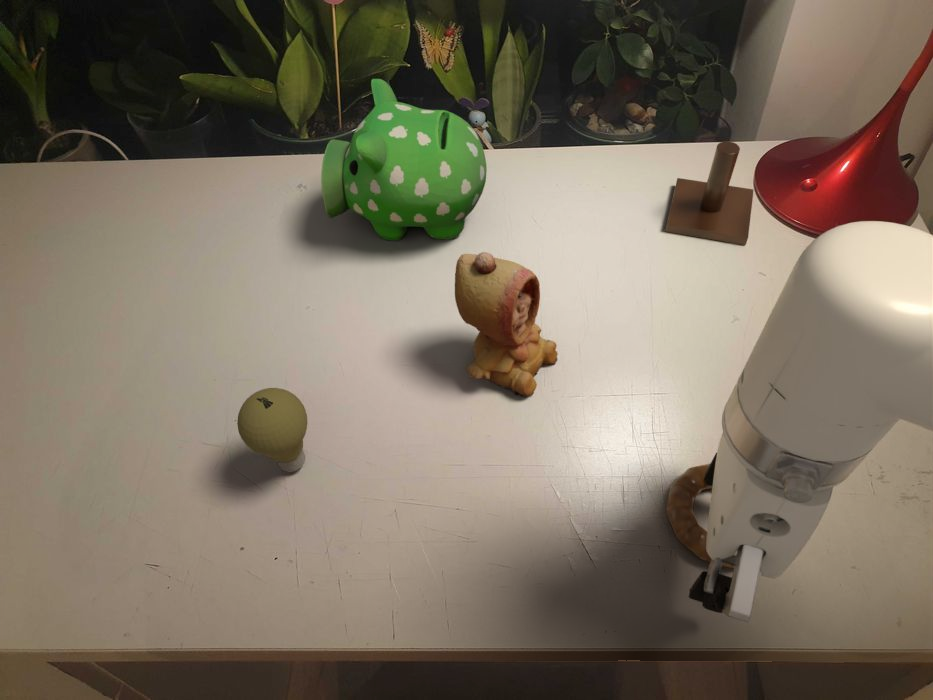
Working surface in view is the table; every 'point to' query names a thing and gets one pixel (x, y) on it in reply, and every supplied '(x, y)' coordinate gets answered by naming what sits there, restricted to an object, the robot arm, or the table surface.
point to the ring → (689, 511)
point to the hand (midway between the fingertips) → (717, 539)
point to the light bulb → (274, 426)
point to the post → (713, 202)
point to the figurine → (502, 321)
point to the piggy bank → (405, 169)
